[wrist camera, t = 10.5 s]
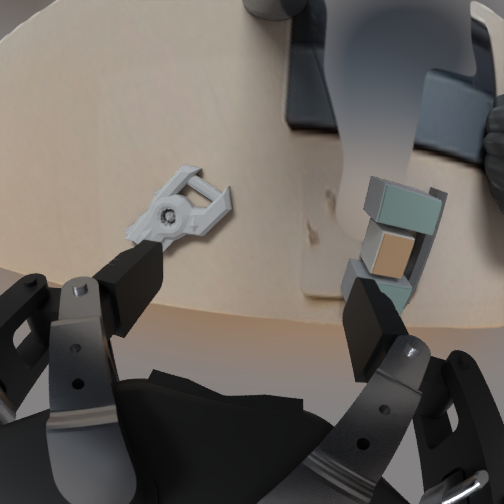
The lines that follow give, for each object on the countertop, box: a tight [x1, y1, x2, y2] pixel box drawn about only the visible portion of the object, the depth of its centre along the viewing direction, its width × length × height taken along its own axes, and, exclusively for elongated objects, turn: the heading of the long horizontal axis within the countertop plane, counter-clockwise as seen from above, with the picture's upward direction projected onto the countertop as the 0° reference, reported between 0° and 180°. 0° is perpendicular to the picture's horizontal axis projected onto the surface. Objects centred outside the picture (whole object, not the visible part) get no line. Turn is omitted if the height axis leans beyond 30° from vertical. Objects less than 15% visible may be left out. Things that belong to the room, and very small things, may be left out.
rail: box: [404, 187, 448, 309], centre depth 36 cm, size 20×3×2 cm, turn 172°
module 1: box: [363, 176, 442, 236], centre depth 32 cm, size 5×9×6 cm, turn 82°
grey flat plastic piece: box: [125, 165, 232, 252], centre depth 39 cm, size 18×4×10 cm
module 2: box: [360, 218, 415, 279], centre depth 35 cm, size 6×5×6 cm
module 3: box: [341, 259, 412, 316], centre depth 38 cm, size 5×9×6 cm, turn 82°
